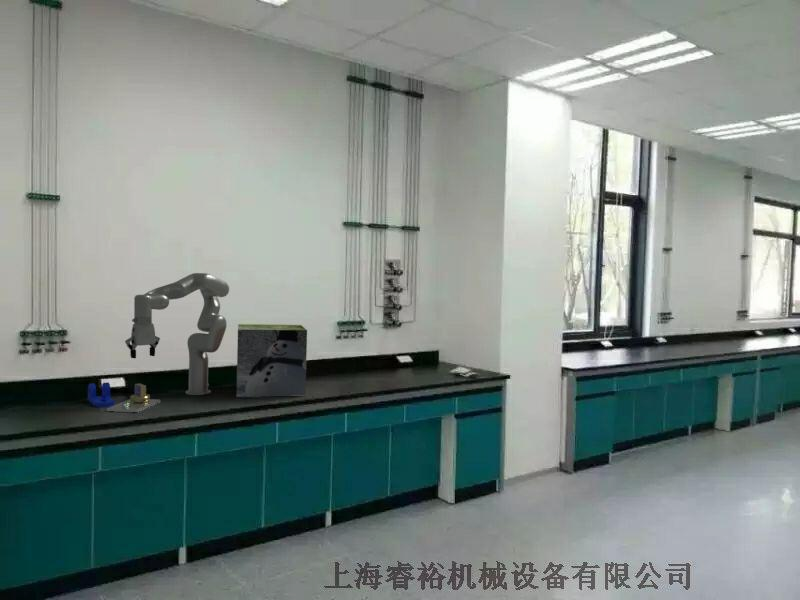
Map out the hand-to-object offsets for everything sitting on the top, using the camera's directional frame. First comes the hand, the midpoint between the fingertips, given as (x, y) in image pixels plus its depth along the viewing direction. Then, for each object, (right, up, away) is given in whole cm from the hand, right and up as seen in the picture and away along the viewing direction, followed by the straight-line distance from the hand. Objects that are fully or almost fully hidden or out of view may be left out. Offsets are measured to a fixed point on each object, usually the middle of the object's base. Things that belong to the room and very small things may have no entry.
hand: (142, 356), depth 280 cm
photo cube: (+50, -23, +44) cm, 71 cm away
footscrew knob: (-1, -21, -1) cm, 21 cm away
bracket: (-20, -22, 0) cm, 30 cm away
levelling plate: (-2, -23, -5) cm, 23 cm away
